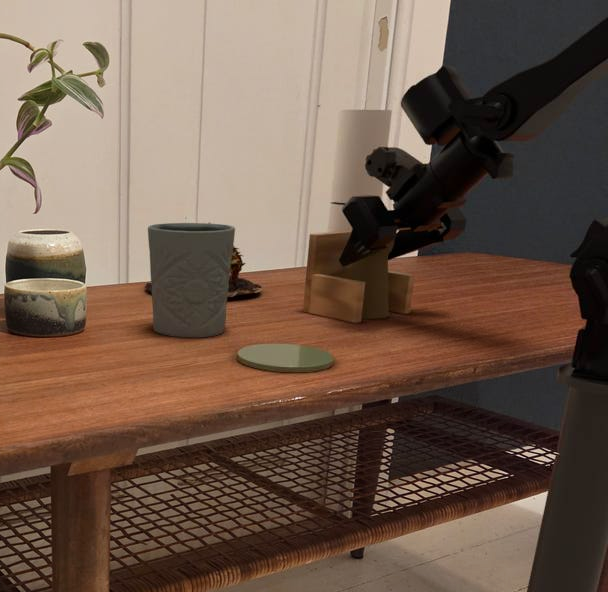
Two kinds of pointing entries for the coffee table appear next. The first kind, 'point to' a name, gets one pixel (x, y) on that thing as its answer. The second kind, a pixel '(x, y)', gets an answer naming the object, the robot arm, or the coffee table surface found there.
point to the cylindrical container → (355, 160)
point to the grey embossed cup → (190, 277)
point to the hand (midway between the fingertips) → (361, 261)
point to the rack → (344, 282)
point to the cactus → (234, 278)
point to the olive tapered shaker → (374, 282)
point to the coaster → (285, 358)
